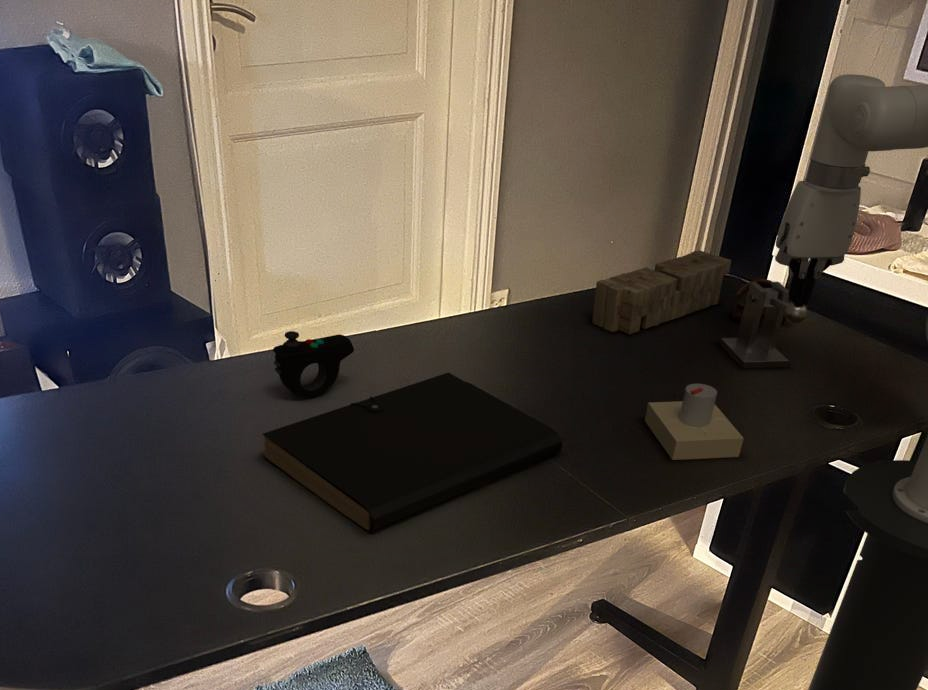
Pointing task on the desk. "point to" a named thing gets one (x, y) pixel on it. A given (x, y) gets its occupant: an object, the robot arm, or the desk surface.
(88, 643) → the desk surface
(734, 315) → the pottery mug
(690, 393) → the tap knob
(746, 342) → the bracket
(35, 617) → the desk surface
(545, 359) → the desk surface
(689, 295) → the block tower
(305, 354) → the controller
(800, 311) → the tap lever
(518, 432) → the black hardcover book
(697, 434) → the beige rectangular block
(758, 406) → the desk surface
